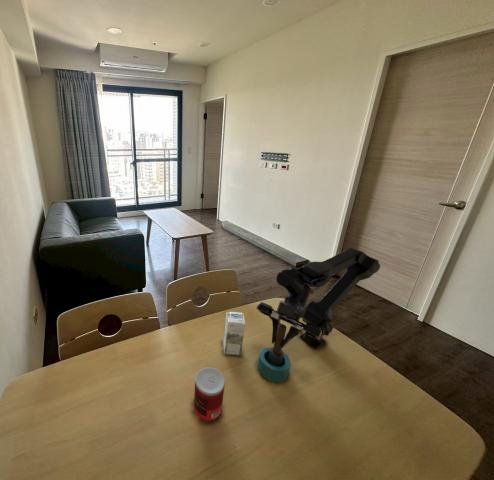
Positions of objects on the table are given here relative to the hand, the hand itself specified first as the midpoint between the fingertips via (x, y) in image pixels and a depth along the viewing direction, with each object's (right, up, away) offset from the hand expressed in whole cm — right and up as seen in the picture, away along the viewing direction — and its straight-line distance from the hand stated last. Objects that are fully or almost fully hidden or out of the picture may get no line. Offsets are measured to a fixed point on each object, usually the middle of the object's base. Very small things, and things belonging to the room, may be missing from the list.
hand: (276, 345), depth 76 cm
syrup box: (-11, -7, +13) cm, 19 cm away
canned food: (-22, -15, -6) cm, 27 cm away
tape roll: (+1, -10, +5) cm, 12 cm away
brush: (+1, -6, +3) cm, 7 cm away
